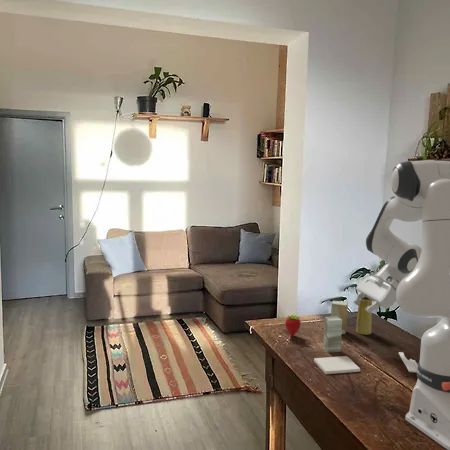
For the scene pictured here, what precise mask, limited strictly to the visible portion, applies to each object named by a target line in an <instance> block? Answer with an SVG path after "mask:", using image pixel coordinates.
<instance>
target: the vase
mask: <svg viewBox="0 0 450 450" xmlns="http://www.w3.org/2000/svg"><path fill="white" fill-rule="evenodd" d="M360 302H361V303H360V304H359V305H357V317H356V326H355V332H356V333H357V334H359V335H363V336H364V335H365V336H366V335H367V336H368V335H371V334H372V333H373V332H372V318H373V317H372V316H373V315H372V314H373V311H372V312H371V313H368V312H367V311H366V310H365V309H366V308H367V307H368V306H369V307H370V306H371V305H372V304H373V301H372V300H370V299H368V298H367V297H364V298H362V299H361V301H360Z"/></svg>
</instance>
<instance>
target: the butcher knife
mask: <svg viewBox="0 0 450 450" xmlns="http://www.w3.org/2000/svg"><path fill="white" fill-rule="evenodd" d="M398 355H399V357H400V359H401V360H402V362H403V364H404V365H405V367H406V369H407V370H408V372H409V373H417V367H418V362H416V360H415V359H412V358H409V359H408V358H407V357H406V356H405V354H404V352H403V351H402V352H401V351H399V352H398Z"/></svg>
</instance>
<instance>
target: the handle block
mask: <svg viewBox="0 0 450 450" xmlns="http://www.w3.org/2000/svg"><path fill="white" fill-rule="evenodd" d="M323 325H324V326H323V346H322V347H323V349H324V351H325V352H327V353H328V354H330V353H341V352H342V335H343V334H342V319H340V318H339V317H338V316H332V317H331V316H324V323H323Z"/></svg>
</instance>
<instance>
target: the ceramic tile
mask: <svg viewBox="0 0 450 450" xmlns="http://www.w3.org/2000/svg"><path fill="white" fill-rule="evenodd" d="M313 359H314V360H313V362H314V363H315V364H316V365H317V366H318V368H319V369H320V370H321V371H322V372H323V373H324V374H325V375H333V374H334V375H335V374H347V373H357V372H361V368H360V367H359V366H358V365H357V364H356V363H355V362H354V361H353V360H352V359H351V358H350V357H348V356H346V355H343V356H341V355H340V356H328V357H315V358H313Z"/></svg>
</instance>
